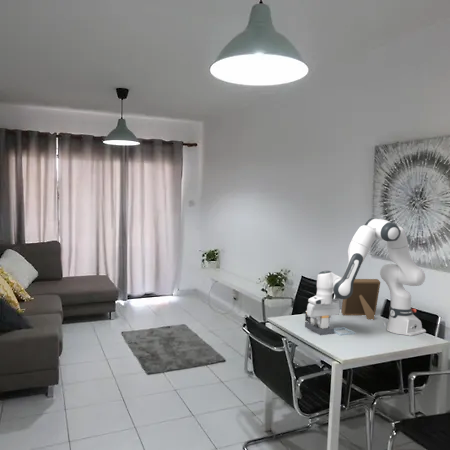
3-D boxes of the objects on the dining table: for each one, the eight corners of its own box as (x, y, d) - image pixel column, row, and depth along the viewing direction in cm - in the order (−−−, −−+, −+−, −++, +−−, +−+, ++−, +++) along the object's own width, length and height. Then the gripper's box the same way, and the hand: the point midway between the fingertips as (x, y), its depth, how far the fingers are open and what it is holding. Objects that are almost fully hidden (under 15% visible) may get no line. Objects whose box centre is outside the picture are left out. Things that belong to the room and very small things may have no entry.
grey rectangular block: (316, 326, 249) (316, 315, 249) (320, 328, 245) (320, 317, 245) (310, 327, 248) (310, 315, 247) (314, 329, 244) (314, 317, 243)
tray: (344, 330, 247) (344, 327, 246) (355, 335, 237) (355, 332, 237) (329, 332, 243) (329, 328, 243) (340, 337, 234) (340, 333, 234)
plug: (324, 326, 241) (324, 314, 241) (328, 328, 237) (328, 315, 237) (318, 326, 240) (318, 314, 239) (322, 328, 236) (322, 316, 235)
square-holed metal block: (304, 328, 249) (305, 321, 248) (317, 327, 252) (318, 320, 252) (320, 337, 234) (320, 329, 233) (333, 335, 237) (333, 328, 237)
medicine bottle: (304, 322, 262) (305, 303, 261) (312, 320, 266) (313, 301, 265) (313, 325, 256) (314, 305, 255) (321, 323, 260) (322, 304, 260)
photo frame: (341, 313, 283) (342, 277, 281) (372, 313, 285) (374, 277, 283) (348, 320, 268) (350, 281, 266) (381, 320, 270) (383, 282, 268)
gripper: (336, 297, 244) (335, 320, 245) (305, 299, 237) (304, 323, 238) (342, 299, 238) (341, 323, 239) (311, 301, 231) (311, 326, 232)
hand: (323, 323), depth 238 cm, fingers closed on plug, 4 cm apart
